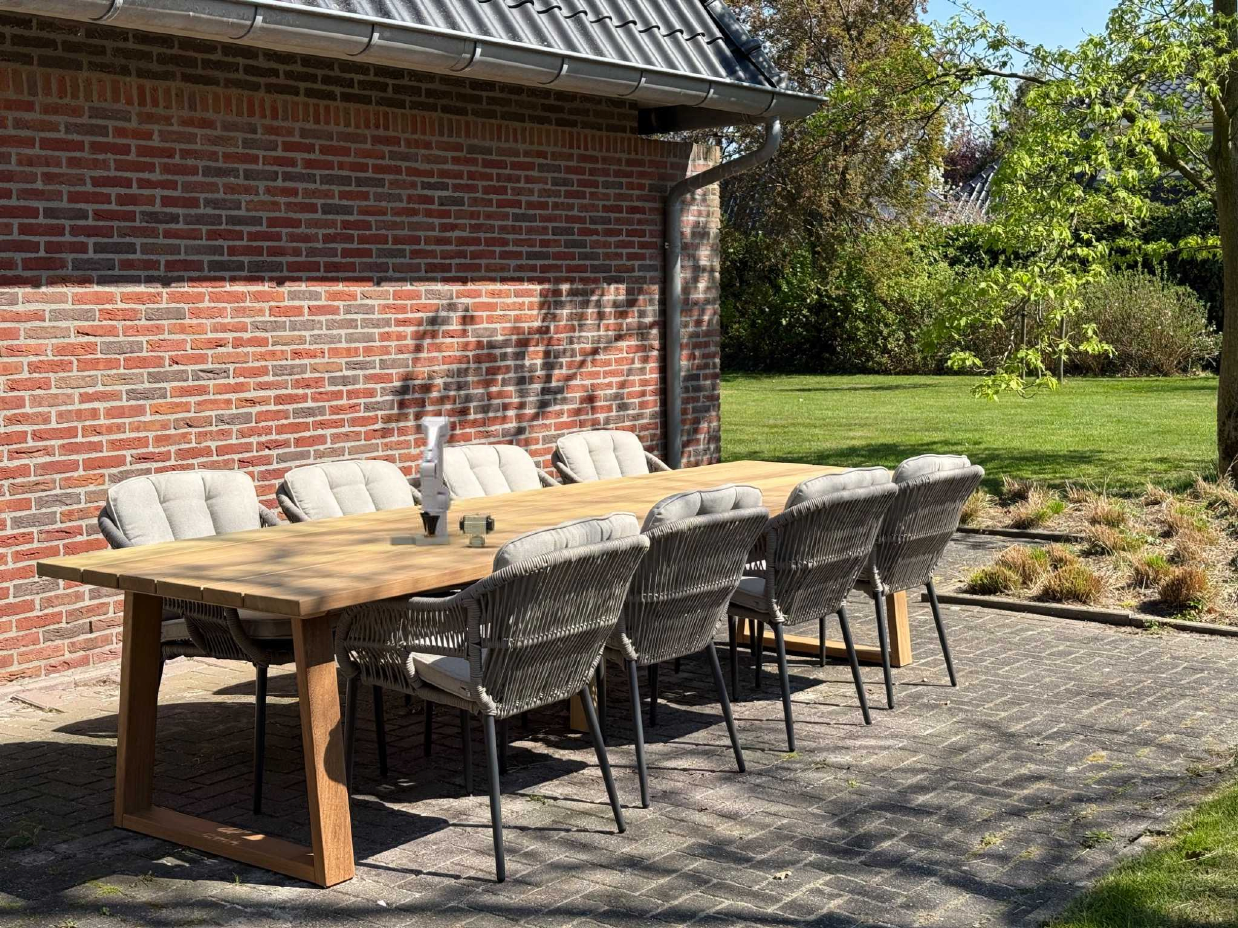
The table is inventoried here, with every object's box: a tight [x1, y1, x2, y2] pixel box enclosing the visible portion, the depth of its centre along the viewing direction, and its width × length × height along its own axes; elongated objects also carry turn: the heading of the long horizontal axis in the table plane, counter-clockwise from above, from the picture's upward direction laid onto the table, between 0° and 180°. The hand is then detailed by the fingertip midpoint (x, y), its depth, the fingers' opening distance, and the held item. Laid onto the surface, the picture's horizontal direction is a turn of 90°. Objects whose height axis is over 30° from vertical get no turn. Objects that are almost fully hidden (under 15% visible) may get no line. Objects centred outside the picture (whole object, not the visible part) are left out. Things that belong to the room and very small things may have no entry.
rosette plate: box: [389, 533, 451, 547], centre depth 532 cm, size 12×20×2 cm, turn 107°
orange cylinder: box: [426, 523, 435, 537], centre depth 533 cm, size 3×3×7 cm
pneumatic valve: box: [458, 512, 496, 548], centre depth 522 cm, size 6×12×12 cm, turn 82°
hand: (429, 533), depth 533 cm, fingers open, 7 cm apart
